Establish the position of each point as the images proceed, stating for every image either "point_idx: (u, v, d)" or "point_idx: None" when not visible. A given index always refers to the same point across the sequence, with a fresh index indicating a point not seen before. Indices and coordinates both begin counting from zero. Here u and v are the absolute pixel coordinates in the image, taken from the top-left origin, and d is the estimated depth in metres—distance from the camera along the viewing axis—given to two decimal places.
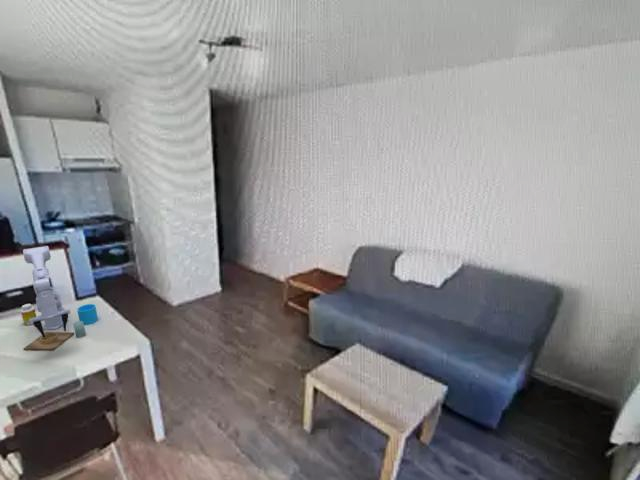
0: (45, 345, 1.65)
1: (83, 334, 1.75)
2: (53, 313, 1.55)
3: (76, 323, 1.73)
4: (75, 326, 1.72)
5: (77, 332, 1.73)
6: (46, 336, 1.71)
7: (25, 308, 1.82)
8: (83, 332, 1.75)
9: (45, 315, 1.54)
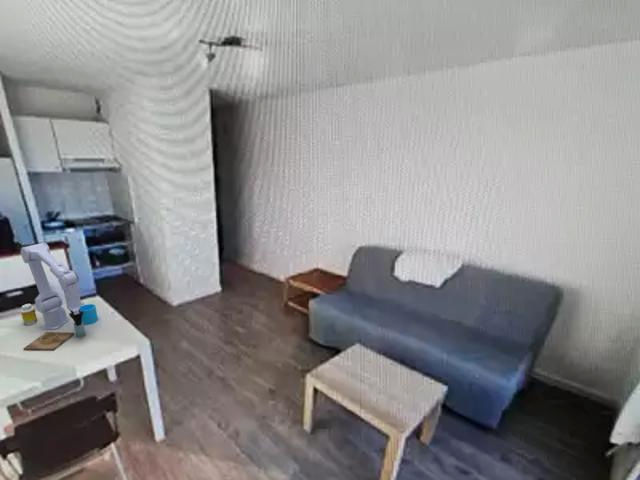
0: (45, 345, 1.65)
1: (83, 334, 1.75)
2: None
3: None
4: (75, 326, 1.72)
5: (77, 332, 1.73)
6: (46, 336, 1.71)
7: (25, 308, 1.82)
8: (83, 332, 1.75)
9: (80, 303, 1.71)
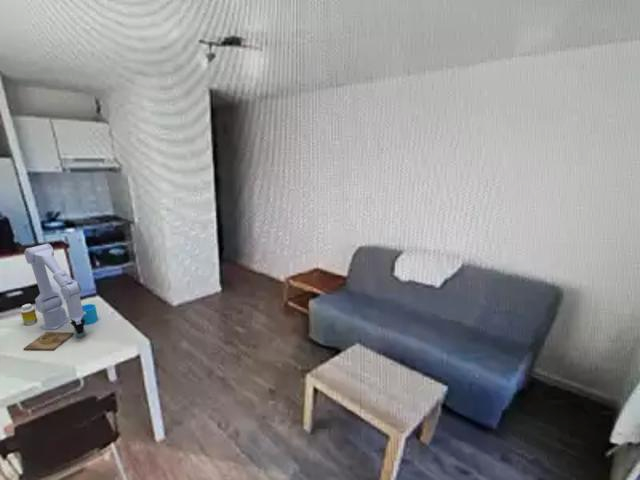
0: (45, 345, 1.65)
1: (83, 334, 1.75)
2: None
3: None
4: None
5: None
6: (46, 336, 1.71)
7: (25, 308, 1.82)
8: (83, 332, 1.75)
9: (82, 313, 1.72)
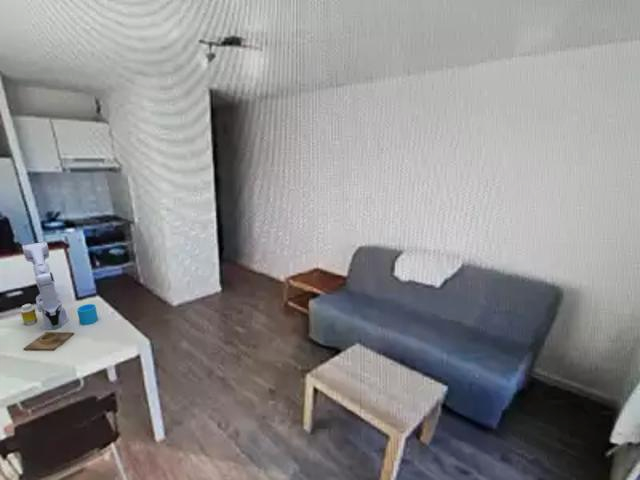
0: (45, 345, 1.65)
1: (59, 326, 1.69)
2: None
3: None
4: None
5: None
6: (46, 336, 1.71)
7: (25, 308, 1.82)
8: (59, 324, 1.69)
9: (57, 304, 1.66)
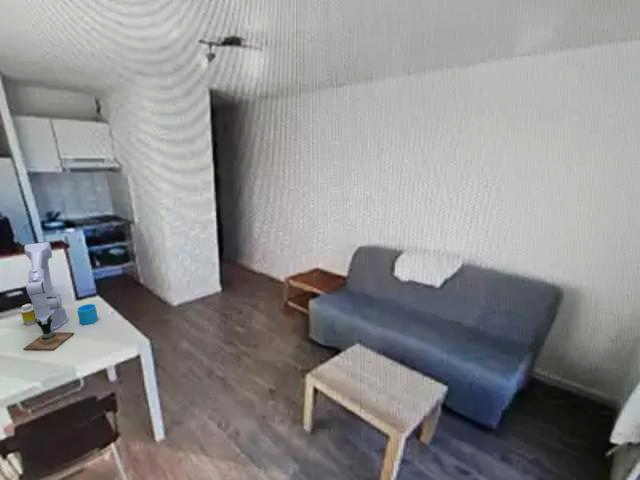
0: (45, 345, 1.65)
1: (51, 334, 1.68)
2: None
3: None
4: None
5: None
6: None
7: (25, 308, 1.82)
8: (51, 332, 1.68)
9: (49, 312, 1.66)
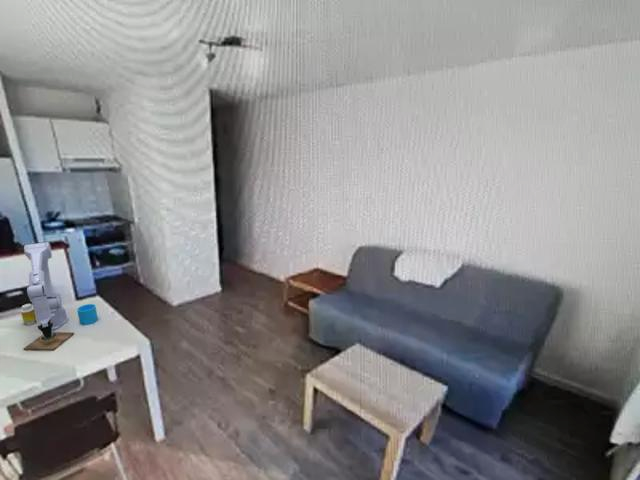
0: (45, 345, 1.65)
1: None
2: None
3: None
4: None
5: None
6: None
7: (25, 308, 1.82)
8: (52, 337, 1.69)
9: (49, 315, 1.66)
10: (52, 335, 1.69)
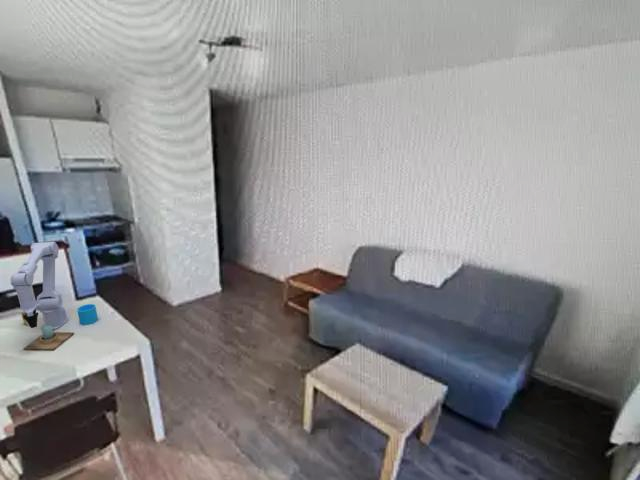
0: (45, 345, 1.65)
1: None
2: None
3: (44, 327, 1.67)
4: (43, 330, 1.66)
5: (45, 337, 1.67)
6: None
7: None
8: (52, 337, 1.69)
9: (35, 305, 1.64)
10: (52, 335, 1.69)
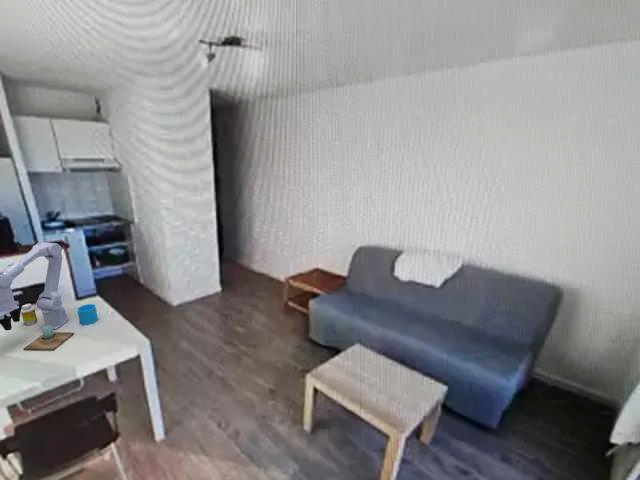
0: (45, 345, 1.65)
1: None
2: (15, 304, 1.63)
3: (44, 327, 1.67)
4: (43, 330, 1.66)
5: (45, 337, 1.67)
6: None
7: (25, 308, 1.82)
8: (52, 337, 1.69)
9: (11, 307, 1.61)
10: (52, 335, 1.69)
